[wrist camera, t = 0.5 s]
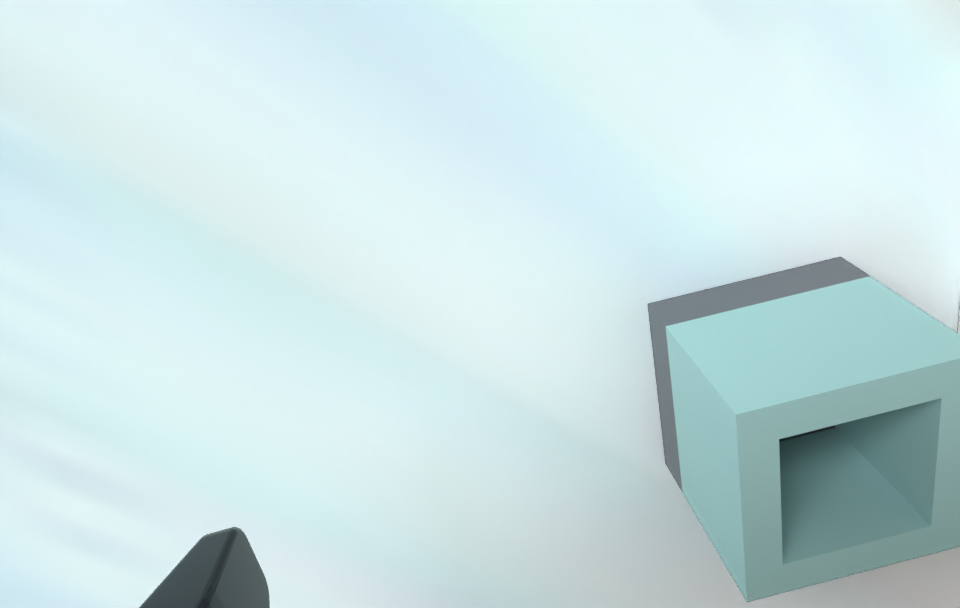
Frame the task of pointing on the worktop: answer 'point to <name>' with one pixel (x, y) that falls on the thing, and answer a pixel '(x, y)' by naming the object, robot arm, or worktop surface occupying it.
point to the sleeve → (810, 423)
